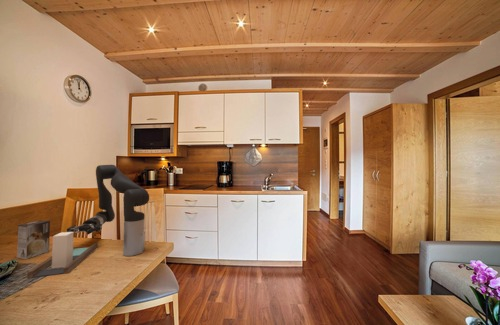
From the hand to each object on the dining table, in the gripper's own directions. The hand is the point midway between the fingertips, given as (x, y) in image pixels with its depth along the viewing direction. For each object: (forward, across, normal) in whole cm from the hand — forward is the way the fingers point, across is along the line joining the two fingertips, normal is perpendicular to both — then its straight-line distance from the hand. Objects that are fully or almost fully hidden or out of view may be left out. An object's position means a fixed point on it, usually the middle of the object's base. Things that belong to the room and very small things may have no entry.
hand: (77, 233), depth 98 cm
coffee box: (-4, -20, +11) cm, 23 cm away
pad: (-1, 0, +10) cm, 10 cm away
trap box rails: (+8, 0, +10) cm, 13 cm away
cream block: (+12, 0, +10) cm, 16 cm away
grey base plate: (+13, 0, +10) cm, 16 cm away
